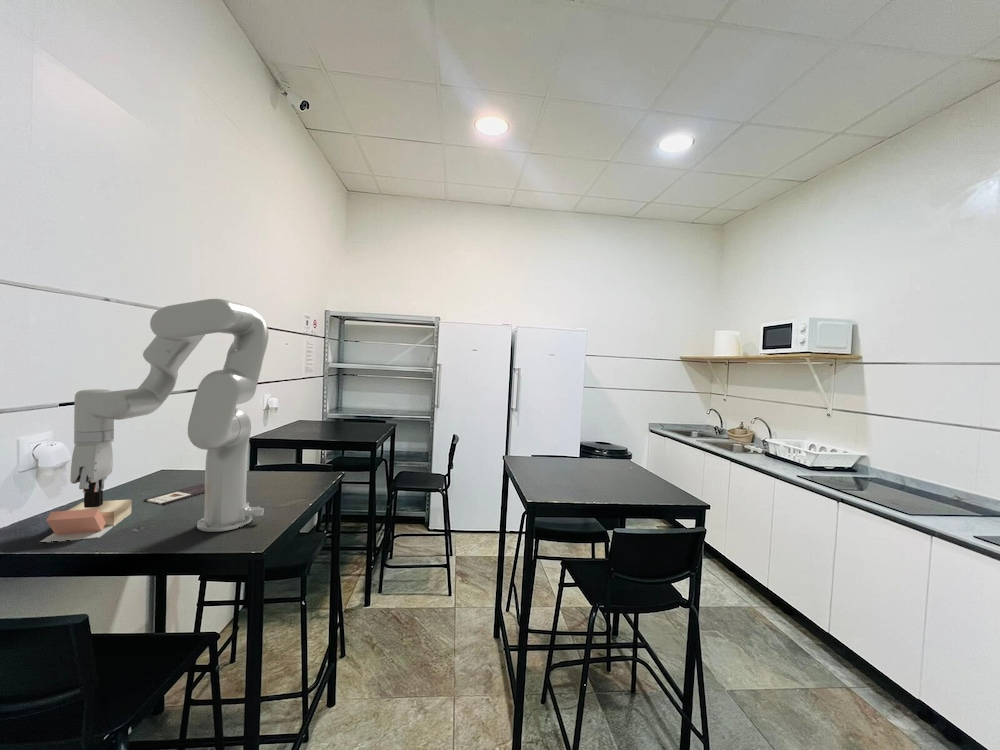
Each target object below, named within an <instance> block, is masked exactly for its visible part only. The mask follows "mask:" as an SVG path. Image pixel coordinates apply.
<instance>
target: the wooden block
mask: <svg viewBox="0 0 1000 750" xmlns="http://www.w3.org/2000/svg"><path fill="white" fill-rule="evenodd" d="M132 502H133V501H132V499H129V498H128V499H120V500H119V499H115V500H103V504H102V505H101V506H99V507H89V508H85V507H84V501H82V502H80V503H78V504H77V505H75V506H73V507H71V508H69V509H68V510H66V511H70V510H86V509H99V510H100V512H101V514H102V516H103V518H104V520H105V522H106V523H105V525H104V527H109V526H113V528H114V527H115V526H117V525H118V524H119V523H120V522H122V521H124V518H125V519H126V518H127V517H129V516H130V515H131V514H132Z"/></svg>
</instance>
